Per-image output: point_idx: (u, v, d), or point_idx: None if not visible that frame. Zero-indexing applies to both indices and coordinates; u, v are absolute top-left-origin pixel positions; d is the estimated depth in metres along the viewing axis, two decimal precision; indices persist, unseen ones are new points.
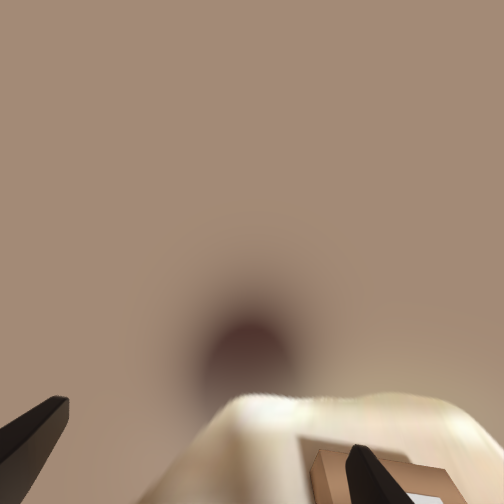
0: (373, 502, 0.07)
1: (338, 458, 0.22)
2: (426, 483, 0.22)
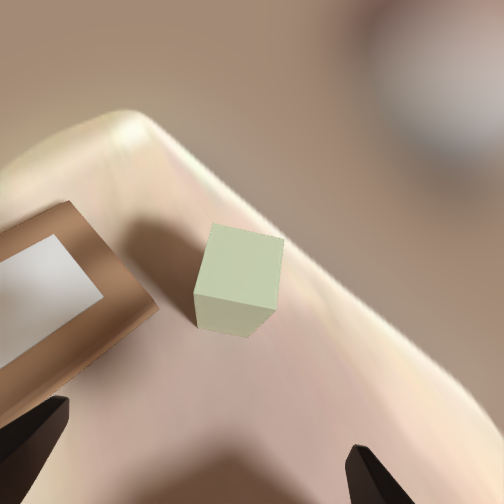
0: (373, 502, 0.07)
1: None
2: (43, 228, 0.21)
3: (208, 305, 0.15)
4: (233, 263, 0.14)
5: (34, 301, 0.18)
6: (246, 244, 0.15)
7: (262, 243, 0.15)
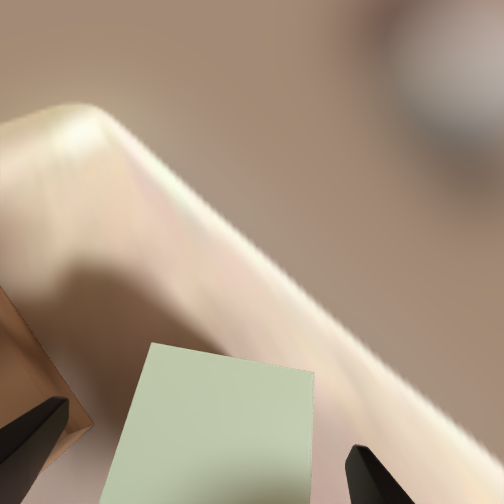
0: (373, 502, 0.07)
1: None
2: None
3: None
4: (193, 464, 0.06)
5: None
6: (227, 397, 0.06)
7: (266, 390, 0.07)
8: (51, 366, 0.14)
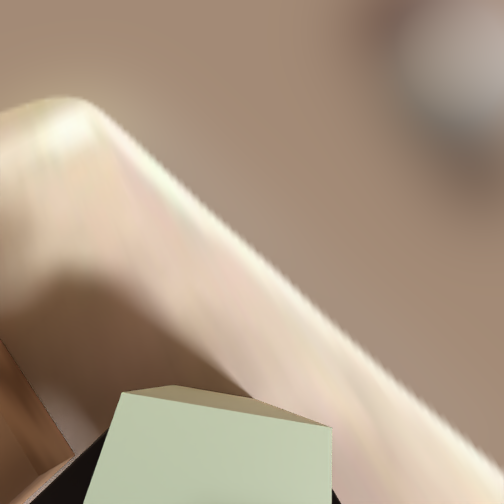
0: None
1: None
2: None
3: None
4: None
5: None
6: (220, 467, 0.05)
7: (271, 456, 0.05)
8: (28, 388, 0.13)
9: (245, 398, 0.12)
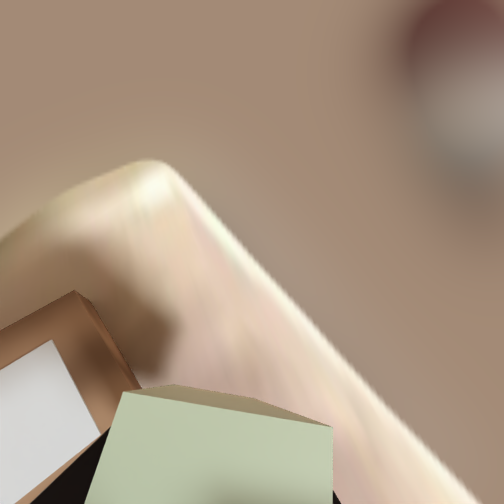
0: None
1: None
2: (40, 331, 0.17)
3: None
4: None
5: (16, 440, 0.15)
6: (221, 466, 0.05)
7: (272, 455, 0.05)
8: (137, 383, 0.19)
9: (245, 398, 0.13)
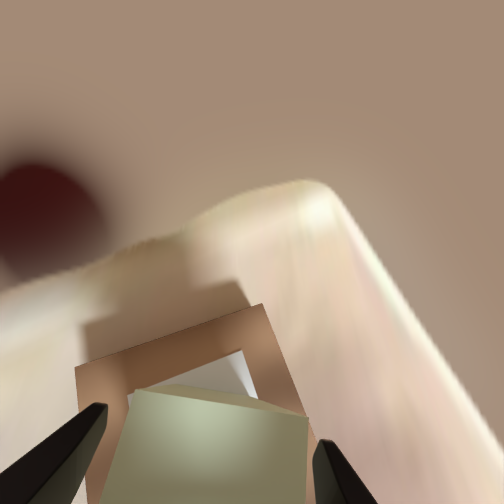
0: (333, 496, 0.07)
1: (106, 365, 0.15)
2: (231, 337, 0.17)
3: None
4: None
5: None
6: (216, 449, 0.06)
7: (257, 440, 0.06)
8: None
9: (241, 395, 0.14)
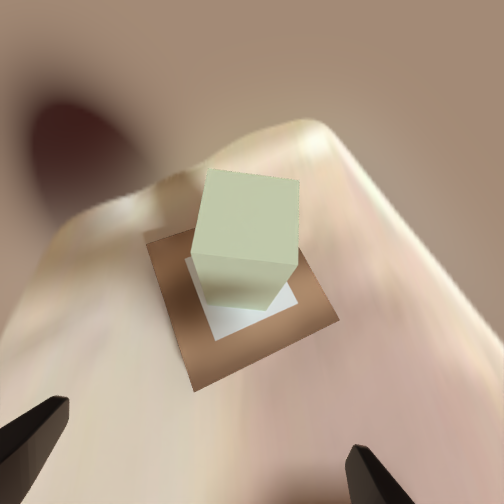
0: (373, 502, 0.07)
1: (166, 243, 0.22)
2: None
3: (212, 270, 0.12)
4: (237, 213, 0.11)
5: None
6: (252, 190, 0.12)
7: (273, 187, 0.12)
8: None
9: None
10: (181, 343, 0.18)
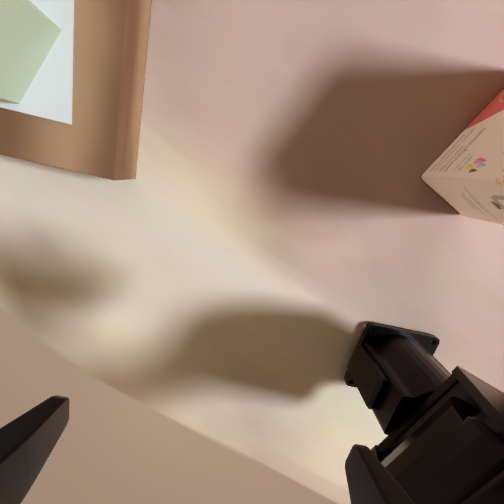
0: (373, 502, 0.07)
1: None
2: None
3: None
4: None
5: None
6: None
7: None
8: None
9: None
10: (56, 163, 0.15)
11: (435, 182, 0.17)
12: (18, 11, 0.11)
